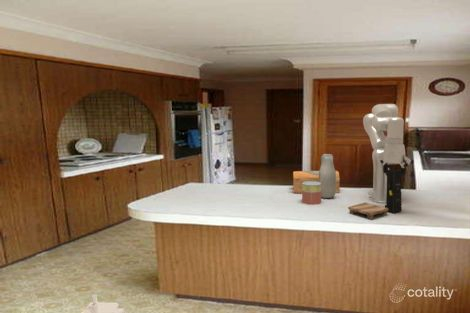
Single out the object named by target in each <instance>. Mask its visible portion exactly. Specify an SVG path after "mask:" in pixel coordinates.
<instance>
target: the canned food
mask: <svg viewBox="0 0 470 313" xmlns="http://www.w3.org/2000/svg"><path fill="white" fill-rule="evenodd" d="M301 202H302V203H303V204H304V205H305V204H306V205H310V206H311V205H315V204H316V205H320V204H321V203H322V197H321V183H320V182H316V181H306V182H302V193H301Z"/></svg>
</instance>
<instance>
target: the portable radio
mask: <svg viewBox="0 0 470 313" xmlns="http://www.w3.org/2000/svg"><path fill="white" fill-rule="evenodd" d="M400 171H401V168H397V167H394V168H389V170H386V175H387V195H386V203H385V205H384V207H385V208H388V211H387V213H391V214H396V213H400V212H402V176H401V175H400Z"/></svg>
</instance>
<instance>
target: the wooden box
mask: <svg viewBox="0 0 470 313" xmlns="http://www.w3.org/2000/svg"><path fill="white" fill-rule="evenodd" d="M335 172H336V192H335V194H340V188H341V187H340V185H341V184H340V183H341V178H340V172H339V171H338V170H335ZM292 175H293V176H292V177H293V178H292V184H293V185H292V186H293V187H292V188H293V194H302V182H306V181H316V182H319V170H300V171H299V170H296V171H295V170H294V171H293V172H292Z"/></svg>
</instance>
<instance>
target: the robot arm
mask: <svg viewBox="0 0 470 313" xmlns="http://www.w3.org/2000/svg"><path fill="white" fill-rule="evenodd" d="M398 115H399V107H398V106H397V105H396V104H394V103H379V104H376V105H374V106H373V107H372V108H371V113H366V114H365V115H364V117H363V119H362V122H363V127H364V130H365V132H366V134H367V135H368V137H369V140H370V143H371V147H372V149H373V151H372V164H373V176H372V177H373V178H372V179H373V180H372V181H373V182H372V183H373V184H372V185H373V186H372V189H373V190H372V191H371V190H369V191H368V193H367V196H368V195H370V196H371V197H370V198H369V200H370V201H371V202H373V203H379V204H386V195H387V175H386V170H389V169H390V168H389V165H400V166H401V167H400V170H401V171H400V175H401V177H403V176H405V175H406V171H407V170H406V169H407V168H408V166H409V165H410V164H411V162H412V159H410V158H409V157H408V156H406V148H405V147H406V146H405V144H404V124H405V123H404V122H405V121H404V118H402V117H399V116H398ZM384 132H387V135H385V134H384Z"/></svg>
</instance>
